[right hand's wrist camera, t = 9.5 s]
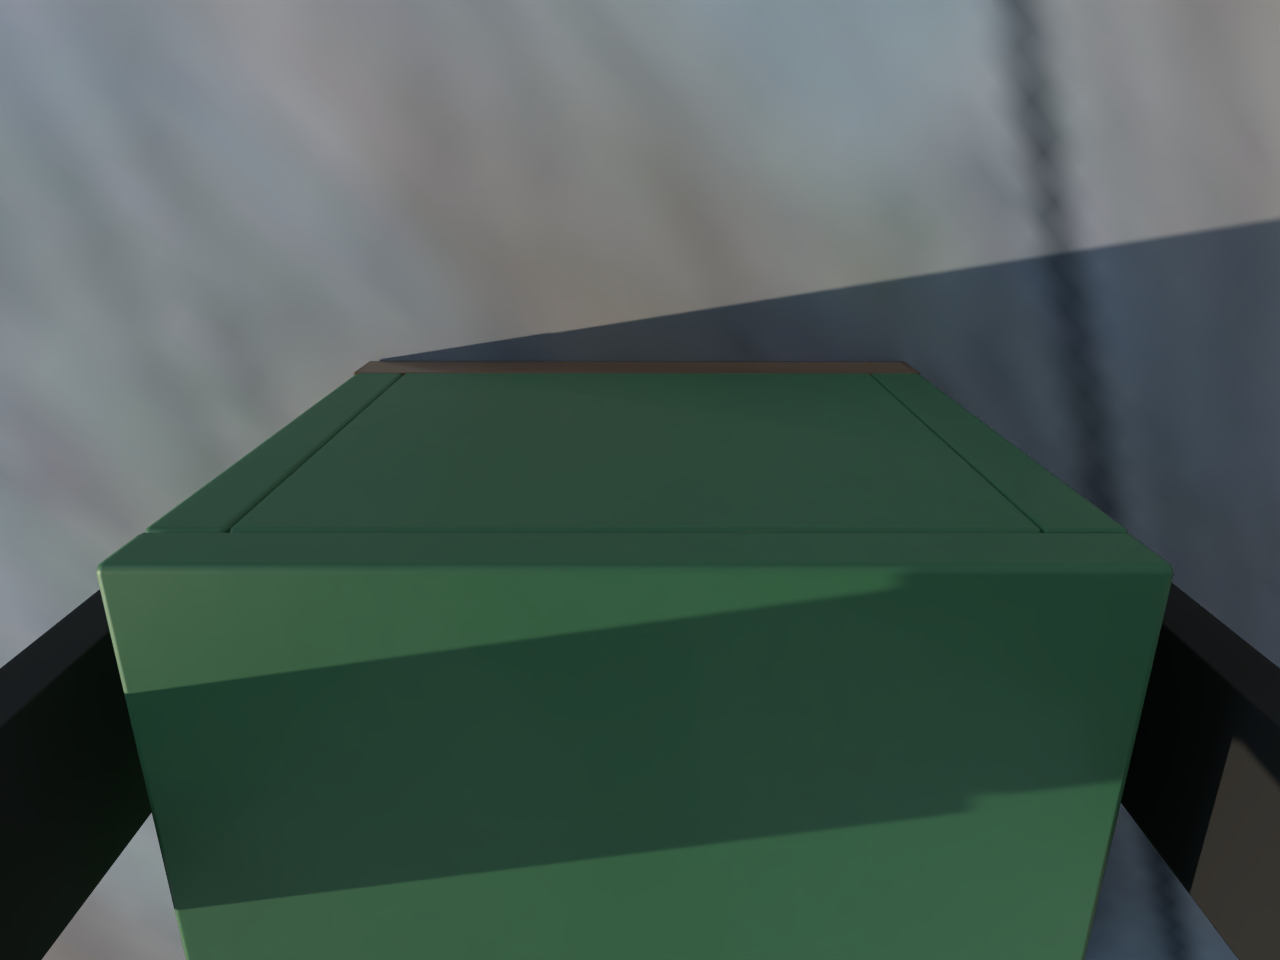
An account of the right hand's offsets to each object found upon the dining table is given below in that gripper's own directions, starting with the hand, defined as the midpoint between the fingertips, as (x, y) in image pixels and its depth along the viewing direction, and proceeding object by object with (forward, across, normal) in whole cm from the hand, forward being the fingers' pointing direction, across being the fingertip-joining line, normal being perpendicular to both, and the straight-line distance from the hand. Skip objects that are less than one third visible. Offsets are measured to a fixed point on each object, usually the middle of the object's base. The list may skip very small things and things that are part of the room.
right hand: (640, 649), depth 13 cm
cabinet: (+5, 0, -6) cm, 8 cm away
